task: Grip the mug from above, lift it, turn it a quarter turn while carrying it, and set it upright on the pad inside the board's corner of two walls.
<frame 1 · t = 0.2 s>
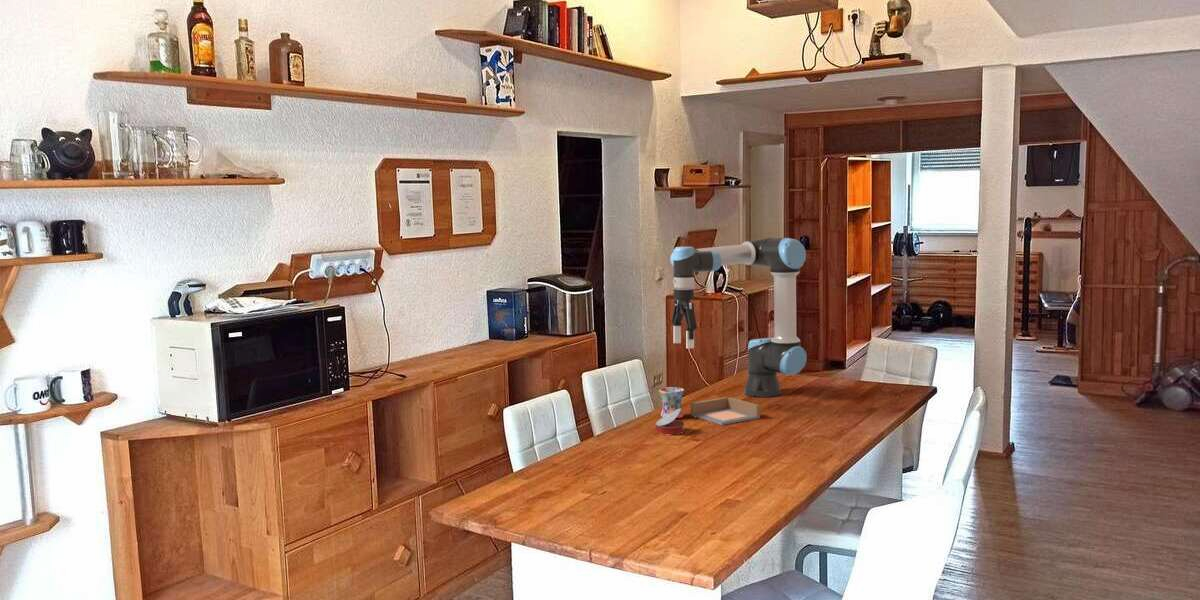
hand: (683, 345, 339), 27 cm above the table, tool pointing down, fingers open, 13 cm apart
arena: (725, 417, 339), on the table
mug: (673, 417, 342), on the table
canned food: (669, 432, 320), on the table
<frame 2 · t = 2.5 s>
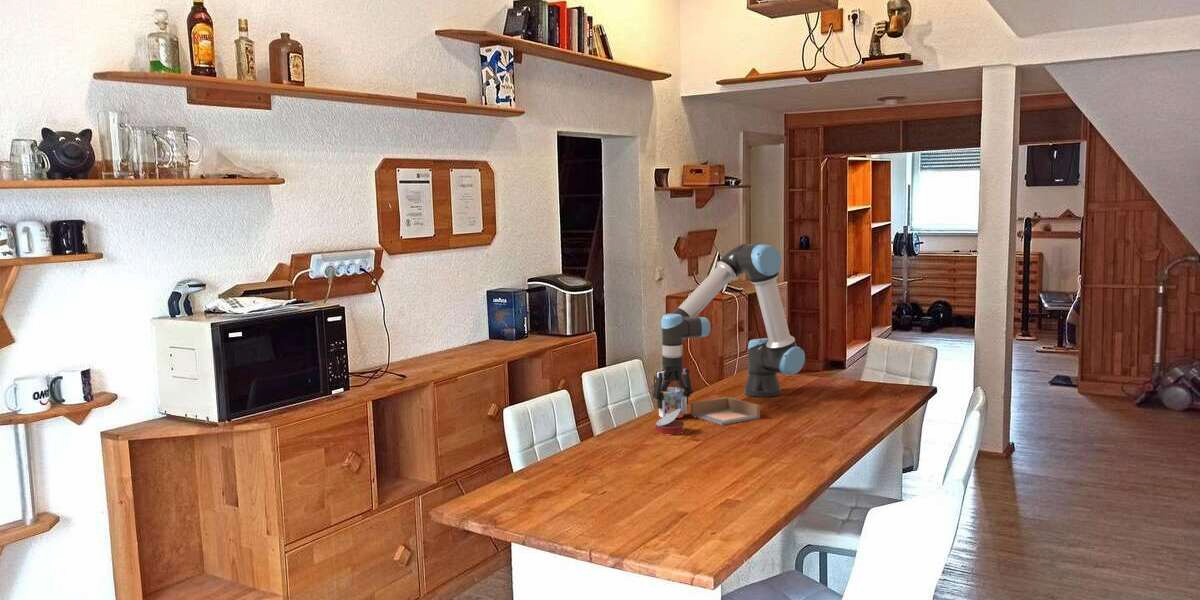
hand: (673, 415, 341), 1 cm above the table, tool pointing down, fingers open, 9 cm apart
mug: (673, 417, 342), on the table, touching gripper
everything else where it was.
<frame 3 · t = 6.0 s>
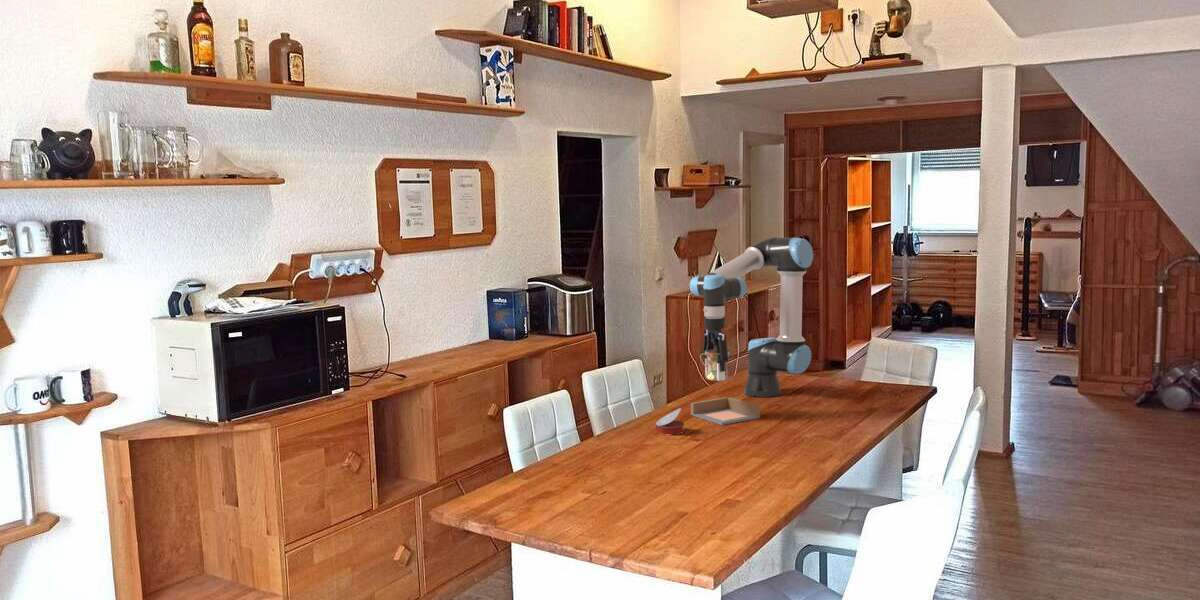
hand: (715, 377, 336), 15 cm above the table, tool pointing down, fingers closed on mug, 9 cm apart
mug: (714, 379, 337), point 14 cm above the table, touching gripper
everything else where it was.
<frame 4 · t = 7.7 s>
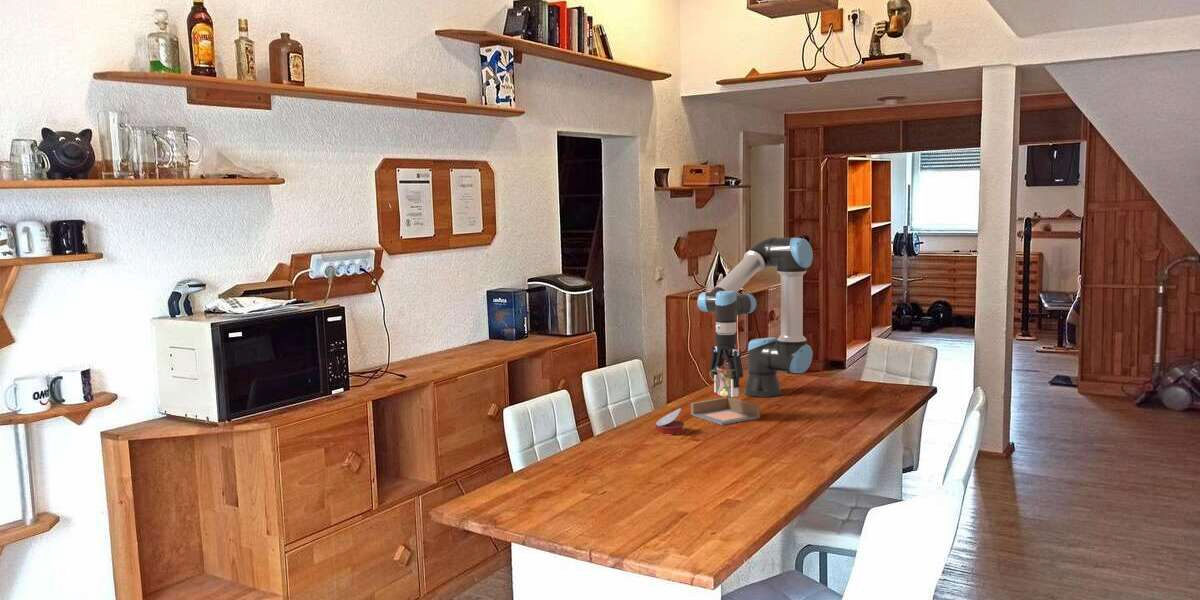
hand: (726, 394, 336), 9 cm above the table, tool pointing down, fingers closed on mug, 9 cm apart
mug: (725, 396, 336), point 8 cm above the table, touching gripper
everything else where it was.
when the fingers open (3 cm above the table, at t = 9.3 s): mug drops 1 cm, point 1 cm above the table.
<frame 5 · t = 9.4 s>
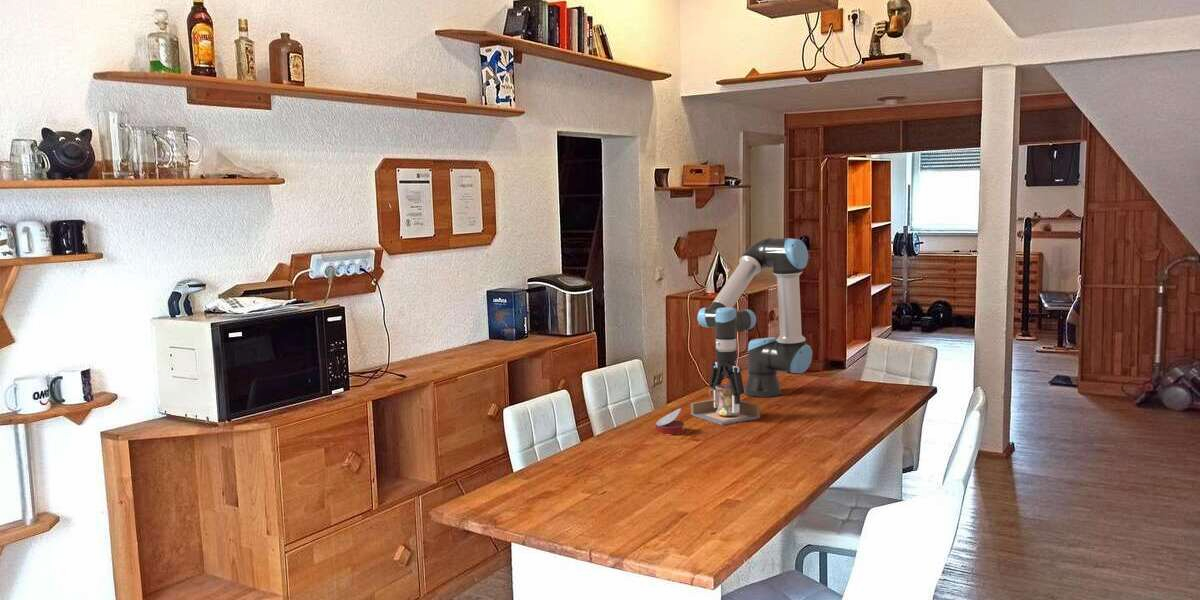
hand: (726, 409, 337), 3 cm above the table, tool pointing down, fingers open, 10 cm apart
mug: (724, 415, 337), point 1 cm above the table, touching gripper
everything else where it was.
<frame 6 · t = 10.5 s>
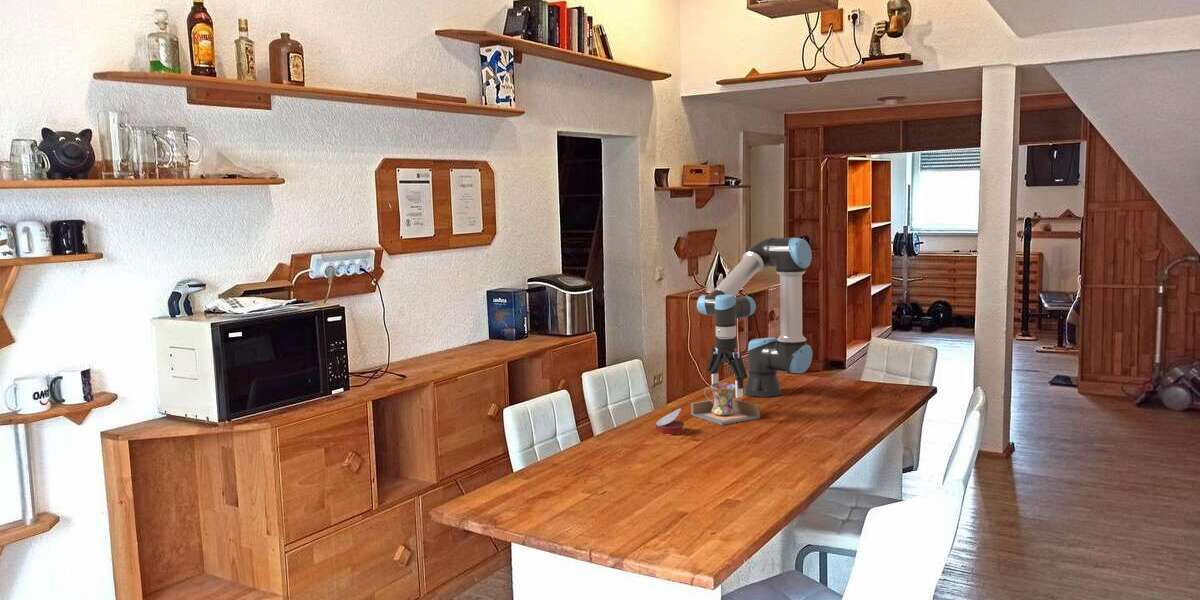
hand: (727, 394, 336), 9 cm above the table, tool pointing down, fingers open, 13 cm apart
mug: (719, 413, 339), point 1 cm above the table, touching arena, gripper
everything else where it was.
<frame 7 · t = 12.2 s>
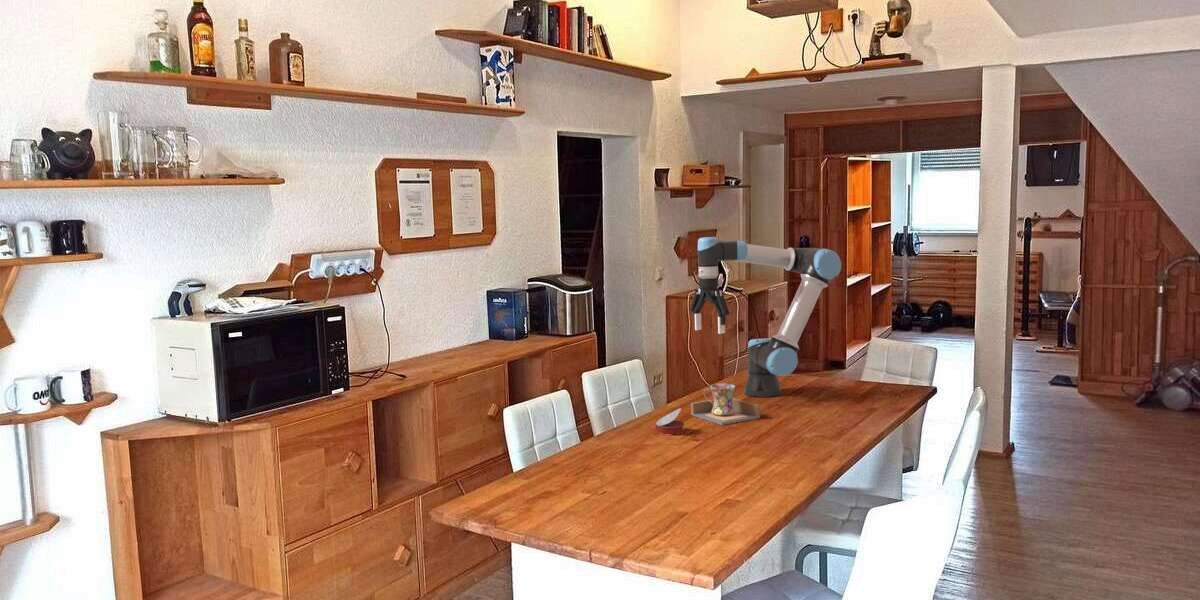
hand: (709, 331, 356), 29 cm above the table, tool pointing down, fingers open, 13 cm apart
mug: (719, 414, 339), point 1 cm above the table, touching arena
everything else where it was.
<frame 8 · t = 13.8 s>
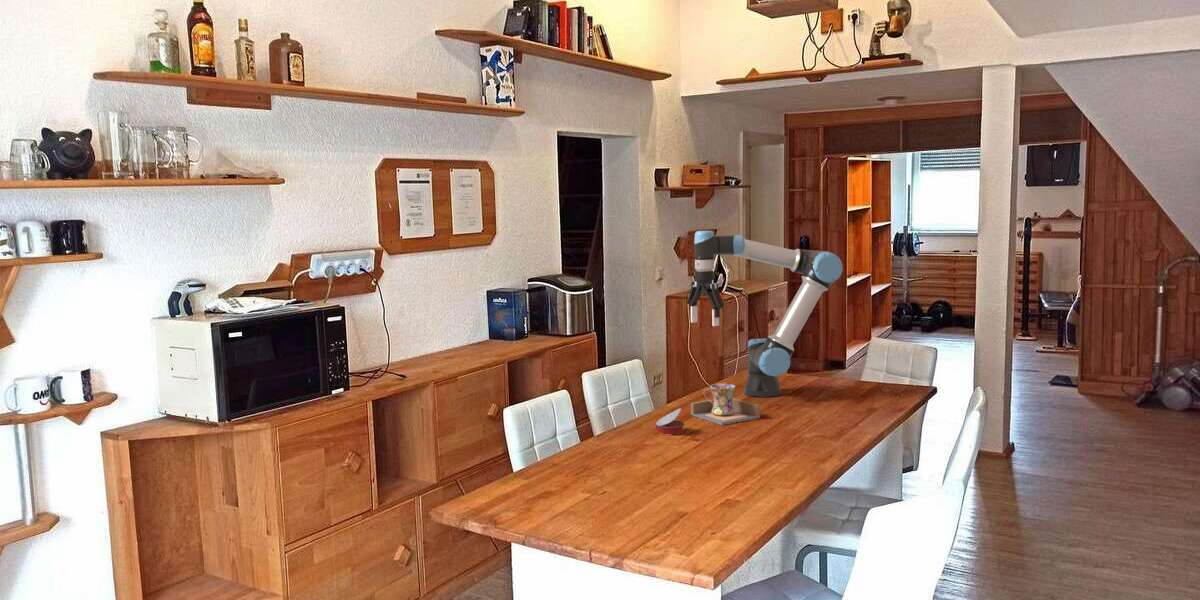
hand: (704, 324, 360), 32 cm above the table, tool pointing down, fingers open, 13 cm apart
nothing on the table moved.
at the end: mug 3.5 cm from the target spot on the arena, point 1.0 cm above the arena's base; mug tilted 0°; the gripper is holding nothing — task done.
